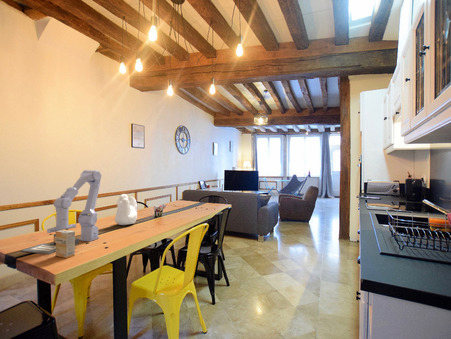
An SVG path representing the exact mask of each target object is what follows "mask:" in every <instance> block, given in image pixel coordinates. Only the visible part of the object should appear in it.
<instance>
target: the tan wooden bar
mask: <svg viewBox="0 0 451 339" xmlns="http://www.w3.org/2000/svg"><path fill="white" fill-rule="evenodd" d="M79 239H80V238H76V237H75V246H77V245H80V240H79ZM53 242H54V243H56V233H54V234H53Z"/></svg>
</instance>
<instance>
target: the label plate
mask: <svg viewBox="0 0 451 339" xmlns="http://www.w3.org/2000/svg"><path fill="white" fill-rule="evenodd" d="M21 252H24V253H33V254H43V255H51V254H53V253H56V245H53V244H50V243H40V244H36V245H34V246H30V247H27V248H24V249H21Z"/></svg>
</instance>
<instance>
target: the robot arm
mask: <svg viewBox="0 0 451 339" xmlns="http://www.w3.org/2000/svg"><path fill="white" fill-rule="evenodd" d="M101 180H102V173H101V172H100V170H97V169H94V170H91V169H90V170H89V169H85V170H83V171H82V172H81V173H80V177H79V178H78V179H77V181H75V183H74V185H73V186H71V187H68V188H66V190H65V191H64V192H63V194H62V195H61V196H60V197H58V198H56V199H55V200H54V202H53V206H54V207H55V216H56V217H55V220H56V222H55V226H54V227H51V228H47V229H46V233H47V234H51V233H56V231H59V230H63V229H66V230H69V229H70V230H71V229H76V228H77V224H76V223H72V224H69V210H70V209H69V208H70V207H71V205H72V202H73V200H74V198H75V197H77V195H78V194H79V190H80V189H81V188H82V187H83V186H84V185H85V184H86V183H88V185H89V186H90V187H89V190H88V195H87V199H86V203H85V208H84V209H83V210H82V211H81V212H80V215H79V216H78V219H77V221H78V222H77V223H78V224H79V226H80V238H78V239H79V242H80V241H81V242H93V241H94V240H97V239H100V237H99V227H98V226H97V225H96V223H97V221H98V216H97V215H98V213H97V212H96V211H95V209H96V205H97V200H98V195H99V191H100V187H101Z"/></svg>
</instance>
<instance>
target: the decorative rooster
mask: <svg viewBox="0 0 451 339" xmlns="http://www.w3.org/2000/svg"><path fill="white" fill-rule="evenodd" d="M116 204H117V206H116V207H117V208H116V213H115V216H114V223H116V224H117V225H119V226H120V225H121V226H126V225H131V224H135V223H136V221H137V219H138V207H139V206H138V202H137V200H136V198H135V197H134V196H128V194H126V193H122V194H121V195H120V196H119V199H118V200H117V202H116Z"/></svg>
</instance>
